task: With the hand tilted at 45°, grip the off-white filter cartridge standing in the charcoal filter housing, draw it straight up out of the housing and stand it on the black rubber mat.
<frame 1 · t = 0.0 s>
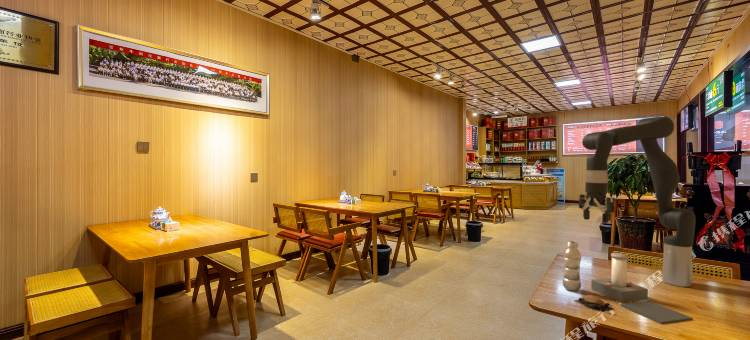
hand: (595, 221, 135), 29 cm above the table, tool pointing down, fingers open, 8 cm apart
filter housing: (618, 294, 133), on the table
filter cartridge: (618, 294, 133), resting in filter housing
rubber mat: (654, 312, 117), on the table
plastic bottle: (571, 290, 138), on the table
dark brown curved piece: (593, 306, 123), on the table
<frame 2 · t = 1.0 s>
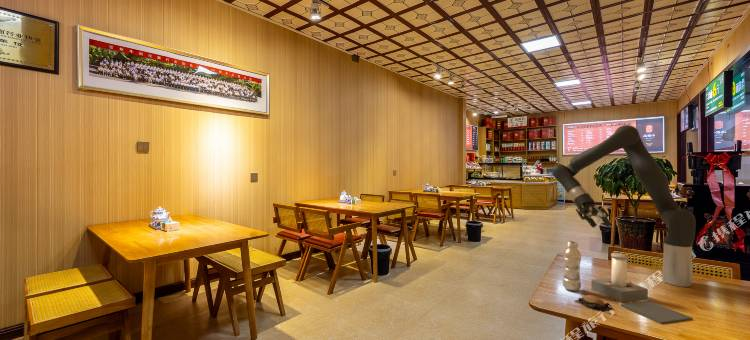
hand: (602, 226, 148), 25 cm above the table, tool tilted 45°, fingers open, 8 cm apart
nothing on the table moved.
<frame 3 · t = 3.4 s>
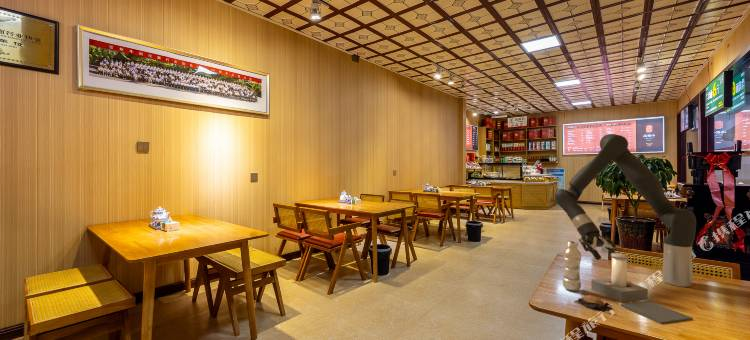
hand: (607, 258, 138), 13 cm above the table, tool tilted 45°, fingers open, 8 cm apart
nothing on the table moved.
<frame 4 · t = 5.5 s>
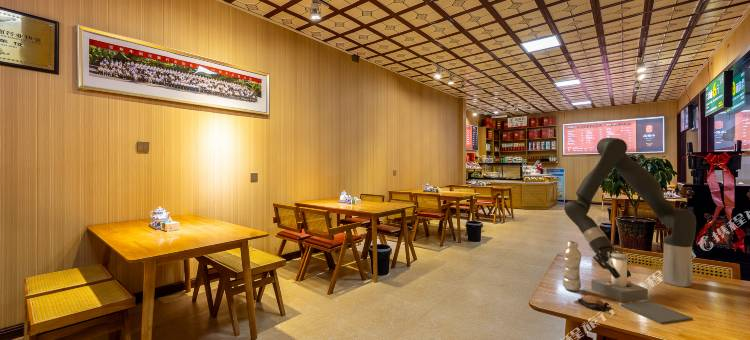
hand: (623, 276, 132), 8 cm above the table, tool tilted 45°, fingers closed on filter cartridge, 5 cm apart
filter cartridge: (618, 294, 133), resting in filter housing, touching gripper
everything else where it was.
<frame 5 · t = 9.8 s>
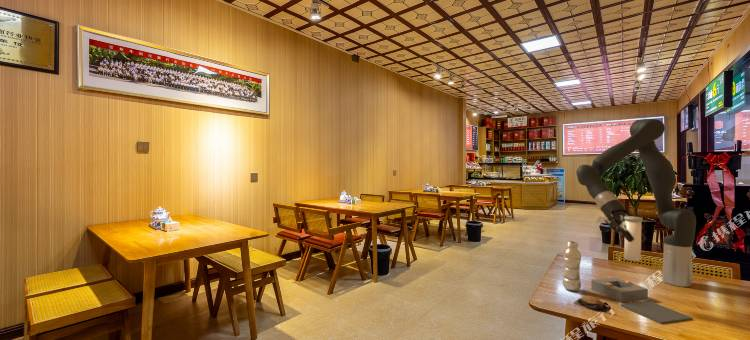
hand: (637, 240, 124), 24 cm above the table, tool tilted 45°, fingers closed on filter cartridge, 5 cm apart
filter cartridge: (632, 258, 127), point 16 cm above the table, touching gripper
when the fingers open (10 cm above the table, at t = 13.6 s): filter cartridge drops 1 cm, resting on rubber mat.
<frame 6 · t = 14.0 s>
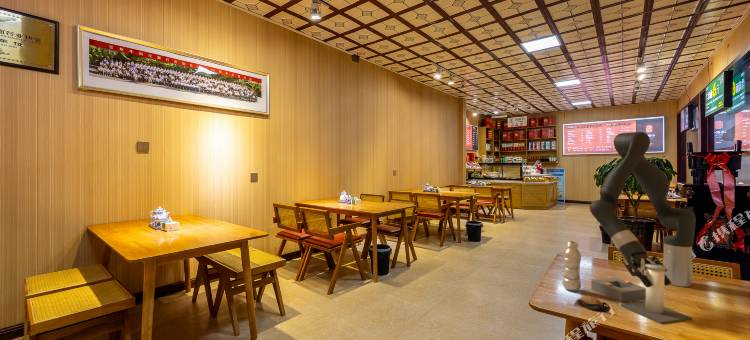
hand: (659, 285, 116), 10 cm above the table, tool tilted 45°, fingers open, 8 cm apart
filter cartridge: (654, 310, 117), point 1 cm above the table, touching rubber mat
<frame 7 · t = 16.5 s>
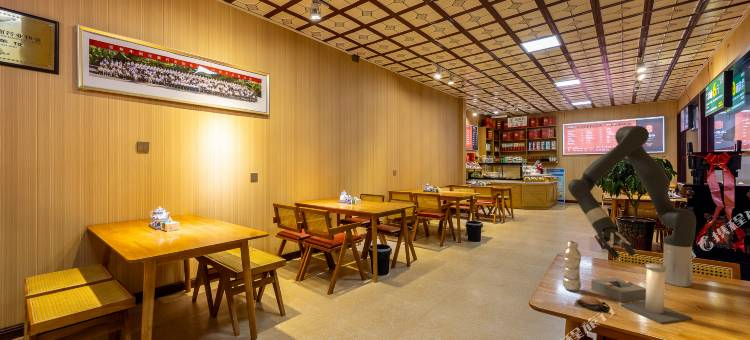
hand: (625, 256, 130), 16 cm above the table, tool tilted 40°, fingers open, 8 cm apart
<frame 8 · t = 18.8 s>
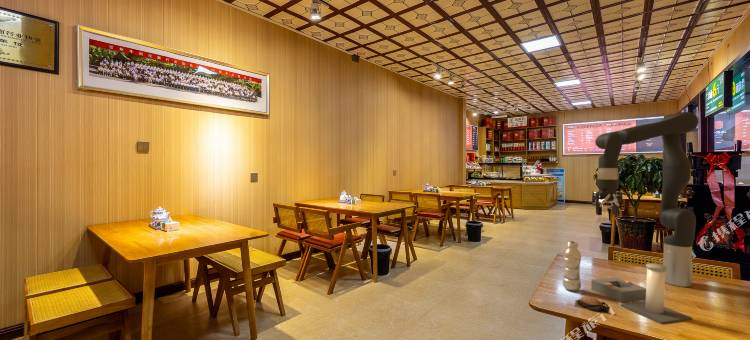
hand: (606, 214, 146), 30 cm above the table, tool pointing down, fingers open, 8 cm apart
at the end: filter cartridge inside the target area on the rubber mat (0.1 cm from its centre), point 0.6 cm above the rubber mat's base; filter cartridge tilted 1°; the gripper is holding nothing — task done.
